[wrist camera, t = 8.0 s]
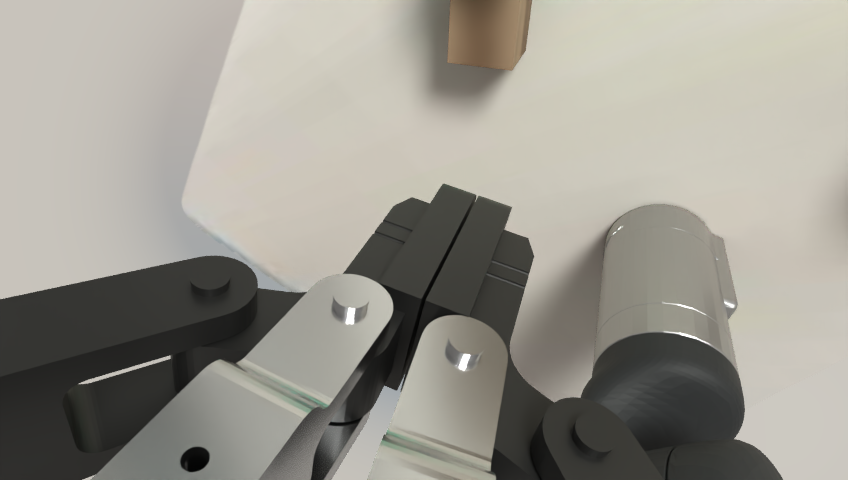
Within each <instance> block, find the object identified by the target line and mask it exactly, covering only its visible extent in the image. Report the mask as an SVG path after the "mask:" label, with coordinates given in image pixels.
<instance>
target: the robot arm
mask: <svg viewBox="0 0 848 480" xmlns="http://www.w3.org/2000/svg"><path fill="white" fill-rule="evenodd" d="M475 200H476V195H475V194H472V193H469V192H466V191H464V190H461V189H458V188H455V187H452V186H449V185H446V184H443V185H442V186H441V187H440V189H439V191H438V192H437V194H436V195H435V197H434V198H433V200H432V201H431V203H430V204H429V203H427V202H424V201H421V200H418V199H415V198H410V199H408V200H405V201H403V202H401V203H399V204H397V205H395V206H394V207H393V208H392V209H391V211H390V212H389V213H388V215H387V216H386V217H385V219H384V220H383V223H381V224H380V225H379V227H378V228H377V229H376V231H375V233H374V234H373V235H372V236H371V237H370V239H369V240H368V241H367V243H366V244H365V245H364V247H363V248H362V249H361V251H360V252H359V253H358V255H357V256H356V257H355V259H354V260H353V261H352V263H351V264H350V265H349V267H348V268H347V269H346V271H345V272H344V273H343V274H338V275H333V276H329V277H326V278H324V279H322V280H320V281H318V282H317V283H316V284H315V285H314V286H313V287H312V288H311V289H310V290H309V291H308V292H302V293H294V292H284V291H275V290H268V289H260V288H258V284H257V278H256V275H255V273H254V272H253V271H252V269H251V268H249V267H248V266H247V265H246V264H244V263H242V262H240V261H238V260H236V259H232V258H229V257H224V256H204V257H198V258H193V259H188V260H183V261H179V262H174V263H170V264H164V265H160V266H155V267H150V268H146V269H141V270H136V271H132V272H127V273H122V274H118V275H113V276H109V277H104V278H99V279H94V280H90V281H85V282H80V283H76V284H71V285H66V286H61V287H57V288H52V289H47V290H43V291H38V292H33V293H28V294H24V295H19V296H14V297H10V298H5V299H0V480H82V479H85V478H88V477H90V476H92V475H95V474H96V475H95V476H94V477H93V478H92V479H91V480H331V479H332V477H333V476H334V474H335V473H336V471H337V469H338V468H339V466H340V465H341V463H342V461H343V459H344V458H345V456H346V455H347V453H348V452H349V450H350V448H351V447H352V445H353V443H354V442H355V440H356V438H357V437H358V435H359V434H360V432H361V430H362V429H363V427H364V425H365V424H366V422H367V420H368V418H369V414H370V410H371V409H372V407H373V406H374V404H375V403H376V401H377V398H378V397H379V395H380V393H381V391H382V389H383V387H384V386H387V387H389V388H392V389H394V390H397V389H398V387H399V385H400V383H401V381H402V379H403V377H404V375H405V377H404V381H403V384H402V388H401V394H400V397H399V400H398V403H397V406H396V408H395V411H394V414H393V417H392V419H391V423H390V425H389V428H388V430H387V433H386V435H384V436H383V439H382V441H381V444H380V446H379V449H378V452H377V454H376V457H375V460H374V462H373V465H372V468H371V471H370V474H369V476H368V479H367V480H783V479H782V477H781V475H780V474H779V472H778V471H777V469H776V468H775V466H774V465H773V464H772V463H771V462H770V460H769V459H768V458H767V457H766V456H765V455H764V454H763V453H762V452H761V451H760V450H758V449H757V448H756V447H754V446H753V445H750V444H748V443H745V442H742V441H740V440H735V439H734V438H735V437H736V435H737V434H738V432H739V430H740V428H741V426H742V423H743V419H744V412H745V408H744V397H743V392H742V387H741V382H740V378H739V374H738V369H737V364H736V359H735V354H734V349H733V344H732V339H731V334H730V329H729V323H728V319H729V318H730V317H731V315H732V314H733V313H734V311H735V310H736V308H737V305H738V303H737V298H736V294H735V289H734V285H733V280H732V276H731V272H730V267H729V263H728V258H727V254H726V249H725V245H724V240H723V239H722V238H720V237H717V236H715V235H713V234H712V233H711V232H710V231H709V229H708V228H707V226H706V225H705V223H704V222H703V221H702V220H701V219H699V218H698V217H697V216H696V215H694V214H693V213H691V212H689V211H687V210H685V209H682V208H679V207H676V206H670V205H648V206H643V207H639V208H637V209H634V210H632V211H630V212H628V213H626V214H625V215H623V216H621V217H620V218H619V219H618V220H617V221H616V222H615V223H614V224H613V226H612V227H611V229H610V230H609V232H608V235H607V238H606V242H605V248H604V255H603V270H602V280H601V290H600V300H599V310H598V320H597V330H596V341H595V351H594V362H593V373H592V378H591V379H590V380H589V382H588V383H587V385H586V386H585V388H584V390H583V392H582V395H581V398H574V397H572V398H564V399H561V400H558V401H557V402H555V403H554V402H552V401H551V400H549V399H548V398H547V397H545V396H544V395H543V394H541V393H540V392H538V391H537V390H536V389H534V388H533V387H532V386H531V385H529V384H528V383H527V382H526V381H525V380H524V379H523V377H522V376H521V375H520V374H519V372H518V371H517V369H516V368H515V366H514V364H513V361H512V359H511V355H510V346H509V345H510V340H511V336H512V333H513V329H514V325H515V322H516V318H517V315H518V311H519V308H520V304H521V301H522V297H523V294H524V289H525V286H526V283H527V279H528V275H529V272H530V269H531V265H532V262H533V258H534V255H533V252H532V249H531V246H530V243H529V240H528V238H526V237H523V236H520V235H517V234H514V233H511V232H509V231H506V230H504V229H505V226H506V223H507V220H508V217H509V214H510V212H511V209H512V207H510V206H507V205H504V204H501V203H498V202H496V201H493V200H490V199H487V198H484V197H481V196H478V198H477V200H476V202H475ZM169 355H170V356H171V359H169V360H166V361H163V362H159V363H156V364H152V365H149V366H146V367H142V368H139V369H136V370H132V371H129V372H126V373H123V374H119V375H116V376H113V377H109V378H106V379H103V380H99V381H96V382H93V383H89V384H79V383H81V382H83V381H85V380H88V379H92V378H95V377H98V376H102V375H105V374H108V373H112V372H115V371H118V370H122V369H125V368H129V367H132V366H135V365H138V364H142V363H146V362H149V361H152V360H155V359H159V358H162V357H166V356H169Z"/></svg>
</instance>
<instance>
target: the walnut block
mask: <svg viewBox="0 0 848 480" xmlns="http://www.w3.org/2000/svg"><path fill="white" fill-rule="evenodd" d="M531 4H532V0H450V19H449V39H448V59H447V63H454V64H463V65H471V66H479V67H487V68H495V69H504V70H513V68H514V67H515V65H516V64H517V62H518V61H519V59H520V58H521V56H522V55H523V53H524V52H525V51H526V43H527V35H528V27H529V20H530V12H531Z"/></svg>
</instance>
